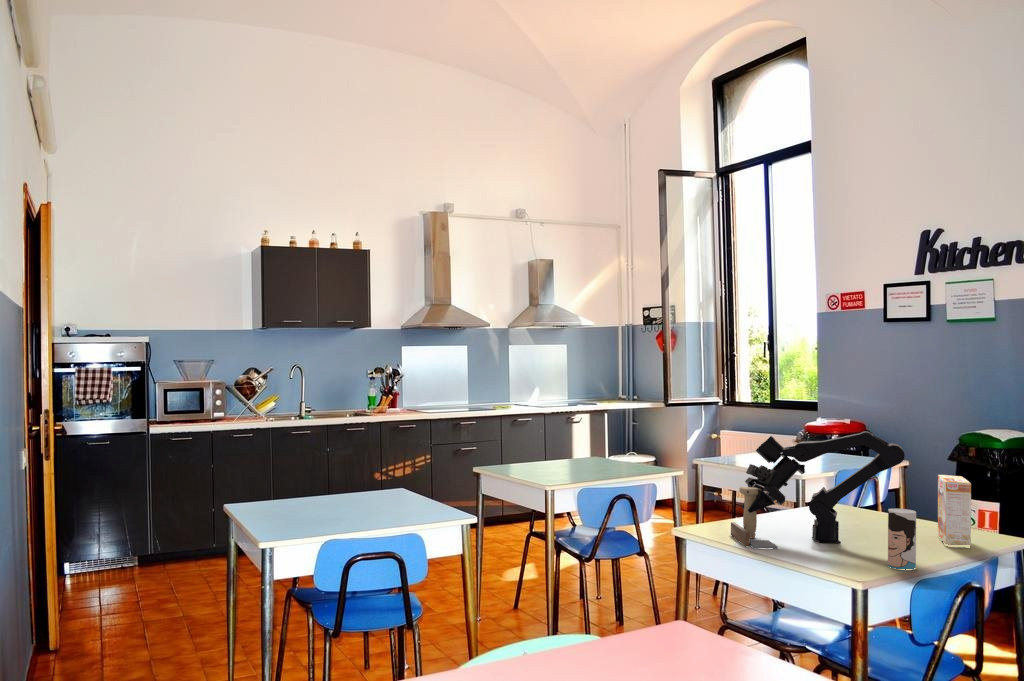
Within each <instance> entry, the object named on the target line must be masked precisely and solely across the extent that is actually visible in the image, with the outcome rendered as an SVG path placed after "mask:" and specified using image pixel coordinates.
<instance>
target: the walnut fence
mask: <svg viewBox="0 0 1024 681" xmlns="http://www.w3.org/2000/svg"><path fill="white" fill-rule="evenodd" d="M731 535H732V536H733V537H732V536H731ZM730 536H731V537H732V538H734V539H735V538H736V539H737V541H738V542H739V541H740V542H741V543H740V542H739V543H740V544H741V545H743V544H744V545H745V546H744V545H743V546H744V547H746V546H750V540H751V538H750V533H749V532H748V531H747V530H745V529H744V527H743V526H741V525H739V524H738V523H737V522H733V521H731V522H730ZM736 539H735V540H736ZM750 547H751V546H750Z"/></svg>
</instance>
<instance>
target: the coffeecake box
mask: <svg viewBox="0 0 1024 681" xmlns="http://www.w3.org/2000/svg"><path fill="white" fill-rule="evenodd" d="M971 534H972V483H971V482H970V481H969V480H968V479H966V478H965V477H963V476H961V475H950V474H949V475H948V474H937V537H938V536H939V537H940V539H941V540H942V541H943V542H944V543H945V544H948V545H970V546H971V547H972V545H971V544H972V540H971V539H972V535H971ZM940 539H939V540H940ZM941 540H940V541H941Z"/></svg>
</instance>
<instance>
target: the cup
mask: <svg viewBox="0 0 1024 681" xmlns="http://www.w3.org/2000/svg"><path fill="white" fill-rule="evenodd" d="M887 513H888V514H887V567H888V566H889V567H888V568H890V567H891V569H892V568H896V569H905V570H906V569H914V568H916V569H917V567H916V566H917V511H915V510H913V509H907V508H895V507H894V508H888V509H887ZM896 569H895V570H896Z"/></svg>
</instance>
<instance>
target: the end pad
mask: <svg viewBox="0 0 1024 681" xmlns="http://www.w3.org/2000/svg"><path fill="white" fill-rule="evenodd" d="M750 545H751V546H752V547H753V548H752V547H751V546H750V547H751V548H752V549H754V548H773V549H772V550H778V549H779V548H778V545H776V544H775V543H774V542H772V541H770V540H769V539H750Z"/></svg>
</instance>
